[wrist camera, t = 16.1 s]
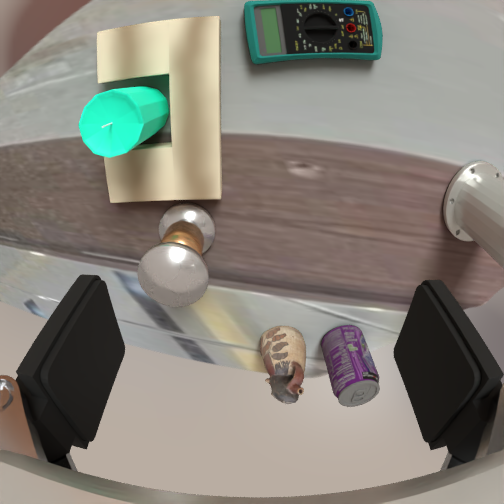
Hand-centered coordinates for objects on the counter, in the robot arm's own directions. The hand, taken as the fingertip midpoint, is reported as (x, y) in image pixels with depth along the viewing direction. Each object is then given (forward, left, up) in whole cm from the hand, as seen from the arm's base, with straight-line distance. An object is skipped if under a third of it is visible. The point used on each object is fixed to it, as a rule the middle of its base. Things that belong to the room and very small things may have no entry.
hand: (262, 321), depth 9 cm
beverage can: (-16, +31, -30) cm, 46 cm away
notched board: (+9, -4, -30) cm, 31 cm away
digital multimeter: (-7, -13, -30) cm, 34 cm away
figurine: (-6, +31, -30) cm, 44 cm away
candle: (+11, -4, -30) cm, 32 cm away
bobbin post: (+7, +11, -30) cm, 32 cm away
